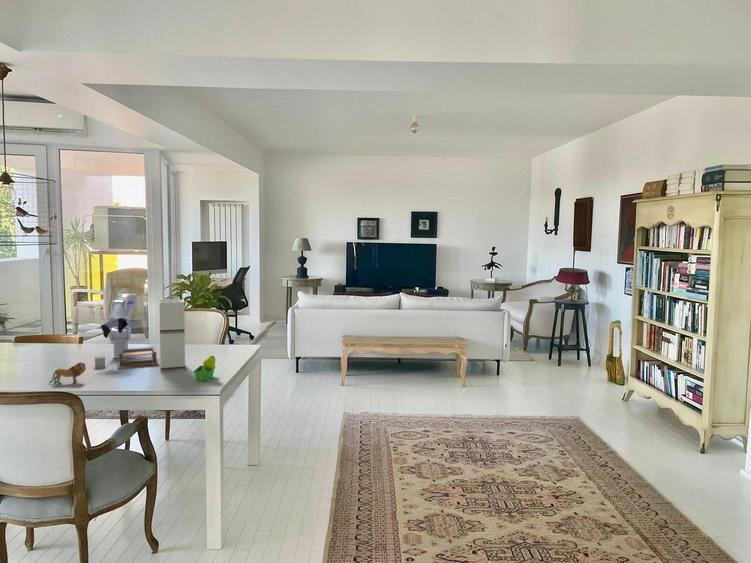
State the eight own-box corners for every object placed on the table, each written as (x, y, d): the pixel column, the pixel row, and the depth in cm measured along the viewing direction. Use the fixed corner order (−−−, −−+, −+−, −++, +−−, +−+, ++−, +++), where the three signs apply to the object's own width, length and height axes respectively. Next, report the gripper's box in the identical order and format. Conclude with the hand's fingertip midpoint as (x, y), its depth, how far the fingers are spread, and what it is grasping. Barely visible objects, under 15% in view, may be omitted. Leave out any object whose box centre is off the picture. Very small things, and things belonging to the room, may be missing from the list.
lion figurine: (86, 379, 232) (86, 360, 231) (85, 382, 227) (85, 363, 227) (49, 382, 226) (48, 363, 225) (47, 386, 221) (46, 366, 220)
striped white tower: (184, 365, 262) (184, 299, 259) (185, 370, 252) (184, 301, 249) (161, 366, 257) (160, 299, 254) (160, 372, 248) (159, 302, 245)
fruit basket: (200, 375, 243) (199, 353, 242) (218, 375, 243) (218, 353, 242) (193, 382, 231) (192, 358, 231) (212, 382, 232) (212, 358, 231)
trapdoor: (122, 355, 264) (122, 349, 264) (151, 352, 271) (151, 346, 271) (123, 359, 255) (123, 353, 255) (152, 356, 262) (152, 350, 262)
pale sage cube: (95, 365, 257) (95, 356, 256) (105, 365, 259) (105, 355, 258) (95, 368, 253) (94, 358, 252) (105, 367, 255) (104, 357, 254)
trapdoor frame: (117, 361, 266) (116, 349, 266) (156, 358, 275) (156, 346, 275) (117, 369, 251) (117, 356, 250) (159, 365, 260) (158, 353, 259)
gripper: (99, 316, 263) (94, 334, 252) (125, 306, 263) (121, 324, 253) (107, 324, 267) (102, 342, 257) (132, 315, 267) (129, 333, 257)
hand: (112, 334), depth 255 cm, fingers open, 7 cm apart
